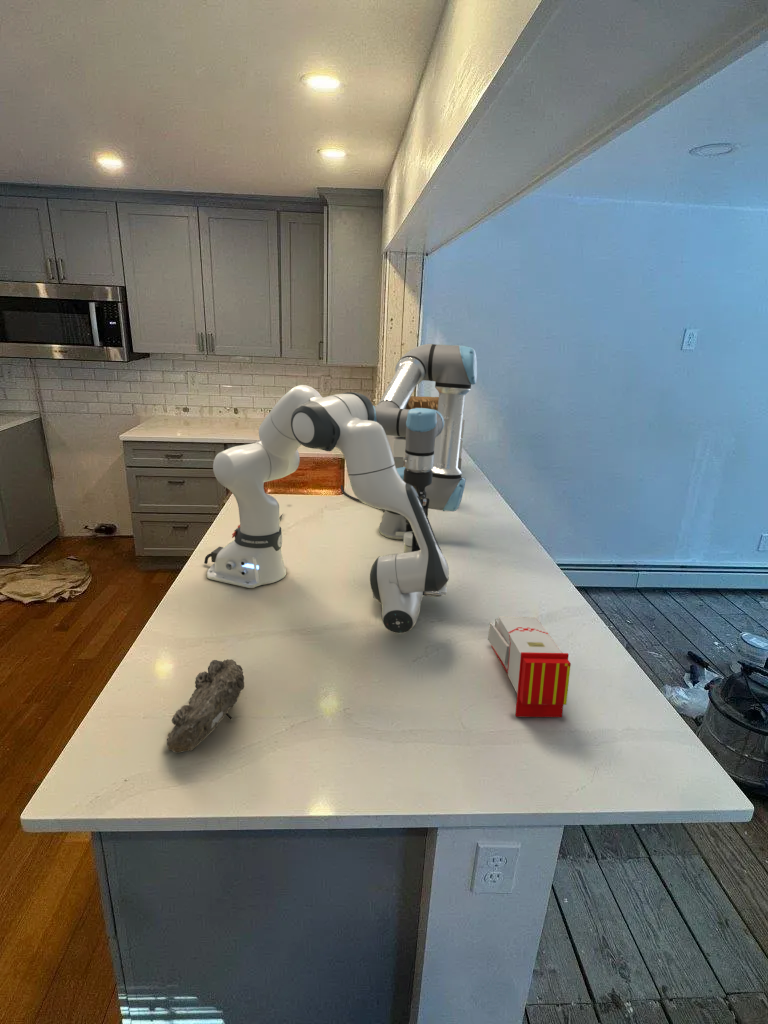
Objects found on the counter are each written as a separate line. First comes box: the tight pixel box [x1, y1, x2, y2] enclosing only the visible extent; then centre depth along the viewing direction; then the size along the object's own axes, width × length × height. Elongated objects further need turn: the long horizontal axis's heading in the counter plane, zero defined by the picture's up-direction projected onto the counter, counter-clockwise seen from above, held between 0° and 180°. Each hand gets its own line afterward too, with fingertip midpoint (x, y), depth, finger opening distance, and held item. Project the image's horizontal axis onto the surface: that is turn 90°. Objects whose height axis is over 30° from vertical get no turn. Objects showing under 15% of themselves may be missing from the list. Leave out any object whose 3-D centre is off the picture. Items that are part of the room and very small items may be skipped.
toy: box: [487, 616, 572, 718], centre depth 123 cm, size 12×13×30 cm
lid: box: [402, 531, 413, 546], centre depth 155 cm, size 6×6×2 cm
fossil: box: [166, 658, 245, 754], centre depth 106 cm, size 22×10×15 cm
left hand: (412, 568), depth 159 cm, fingers closed on jar, 5 cm apart
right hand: (413, 550), depth 156 cm, fingers closed on lid, 5 cm apart
